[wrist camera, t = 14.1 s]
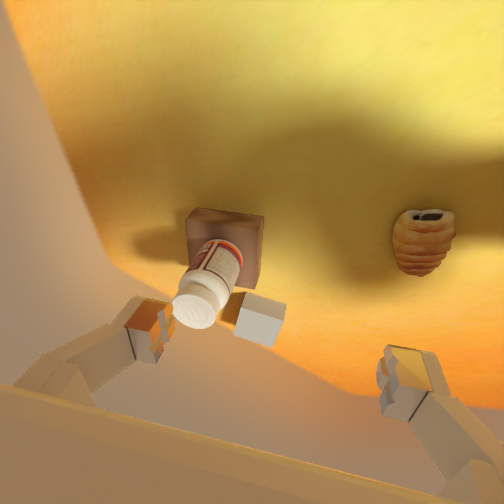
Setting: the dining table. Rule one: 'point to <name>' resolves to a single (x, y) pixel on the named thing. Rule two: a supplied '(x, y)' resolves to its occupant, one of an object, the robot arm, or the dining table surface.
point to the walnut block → (228, 238)
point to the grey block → (260, 319)
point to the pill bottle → (207, 284)
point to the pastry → (422, 239)
